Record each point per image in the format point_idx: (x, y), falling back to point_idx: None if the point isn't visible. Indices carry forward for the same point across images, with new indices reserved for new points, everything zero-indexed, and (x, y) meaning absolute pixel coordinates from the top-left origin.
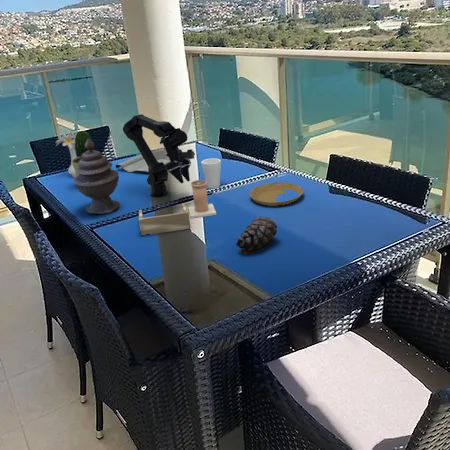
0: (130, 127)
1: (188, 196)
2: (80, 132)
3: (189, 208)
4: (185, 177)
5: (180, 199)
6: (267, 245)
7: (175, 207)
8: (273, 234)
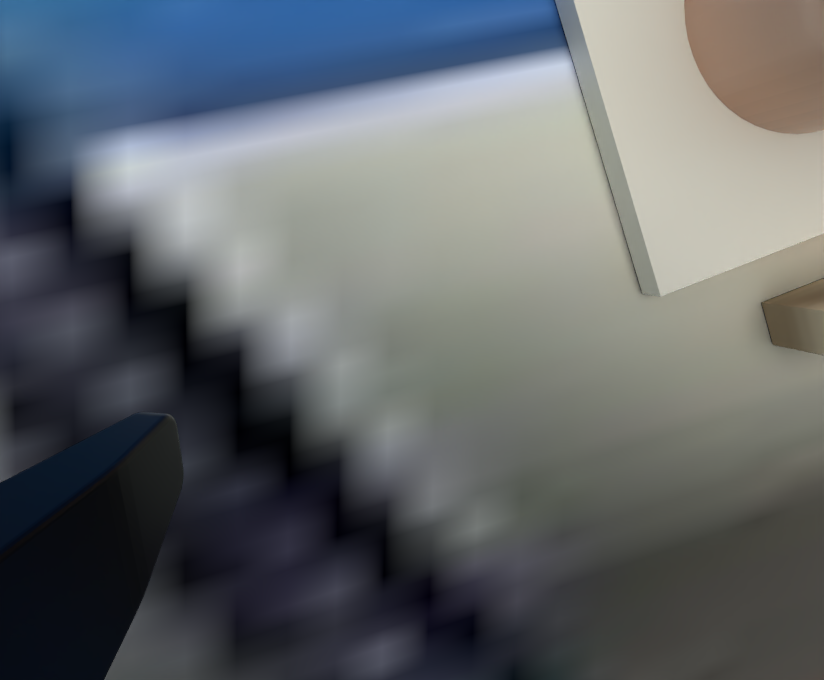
0: None
1: (12, 452)
2: None
3: (732, 250)
4: (100, 637)
5: (182, 565)
6: None
7: (560, 538)
8: None
